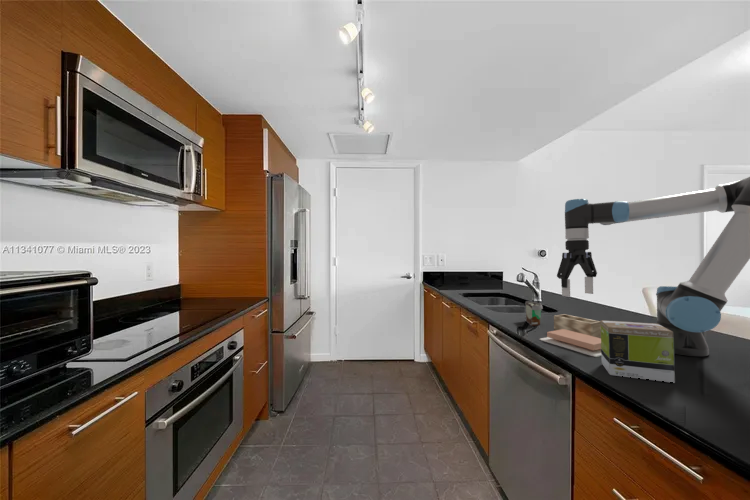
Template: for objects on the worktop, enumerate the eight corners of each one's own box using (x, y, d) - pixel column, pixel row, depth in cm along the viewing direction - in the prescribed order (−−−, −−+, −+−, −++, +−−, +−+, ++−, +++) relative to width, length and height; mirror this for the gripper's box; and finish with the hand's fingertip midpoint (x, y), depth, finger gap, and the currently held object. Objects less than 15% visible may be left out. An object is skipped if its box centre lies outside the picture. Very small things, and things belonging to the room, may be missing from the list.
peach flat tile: (610, 348, 113) (610, 340, 113) (593, 353, 109) (593, 344, 109) (563, 336, 129) (563, 329, 129) (547, 339, 125) (547, 331, 125)
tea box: (660, 371, 94) (660, 323, 94) (675, 384, 85) (675, 331, 85) (600, 363, 100) (600, 318, 100) (608, 375, 91) (608, 326, 91)
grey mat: (620, 351, 112) (620, 349, 112) (596, 357, 106) (596, 355, 106) (562, 335, 132) (562, 334, 132) (539, 339, 126) (539, 338, 126)
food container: (546, 327, 145) (546, 306, 145) (532, 326, 147) (532, 305, 147) (538, 320, 158) (538, 301, 157) (525, 320, 159) (525, 301, 159)
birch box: (601, 338, 127) (601, 321, 126) (591, 341, 124) (591, 323, 124) (564, 329, 141) (564, 314, 141) (553, 331, 138) (553, 315, 138)
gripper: (587, 239, 127) (588, 291, 127) (545, 240, 117) (546, 296, 117) (607, 239, 120) (608, 293, 120) (564, 239, 110) (565, 299, 110)
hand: (577, 294), depth 118 cm, fingers open, 13 cm apart
